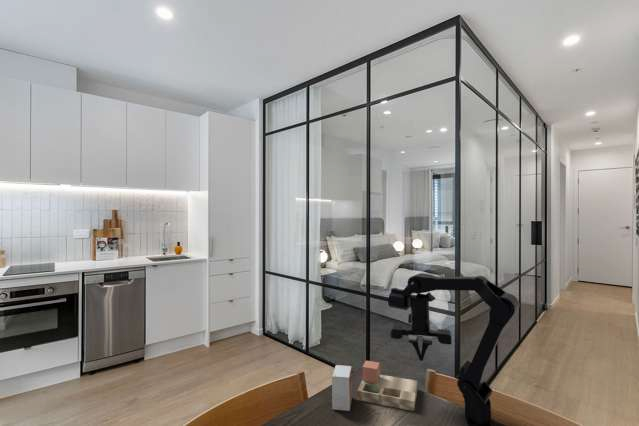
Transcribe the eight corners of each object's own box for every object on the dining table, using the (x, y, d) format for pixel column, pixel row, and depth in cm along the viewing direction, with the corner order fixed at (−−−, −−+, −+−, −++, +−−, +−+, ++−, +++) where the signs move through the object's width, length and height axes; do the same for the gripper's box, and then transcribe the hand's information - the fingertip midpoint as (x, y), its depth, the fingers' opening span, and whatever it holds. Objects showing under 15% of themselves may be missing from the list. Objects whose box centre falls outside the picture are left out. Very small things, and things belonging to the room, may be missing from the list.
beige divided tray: (417, 389, 112) (417, 380, 112) (414, 411, 99) (414, 401, 99) (366, 380, 118) (366, 372, 118) (357, 399, 106) (357, 390, 106)
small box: (349, 411, 100) (349, 377, 100) (332, 409, 101) (331, 376, 101) (352, 397, 107) (352, 365, 107) (335, 395, 109) (335, 364, 109)
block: (379, 376, 115) (379, 362, 115) (377, 383, 110) (376, 369, 110) (365, 374, 117) (365, 360, 117) (362, 381, 112) (362, 366, 112)
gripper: (450, 308, 110) (451, 353, 110) (394, 304, 117) (395, 347, 117) (450, 318, 100) (452, 368, 100) (389, 313, 106) (391, 360, 106)
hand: (421, 360), depth 106 cm, fingers closed
